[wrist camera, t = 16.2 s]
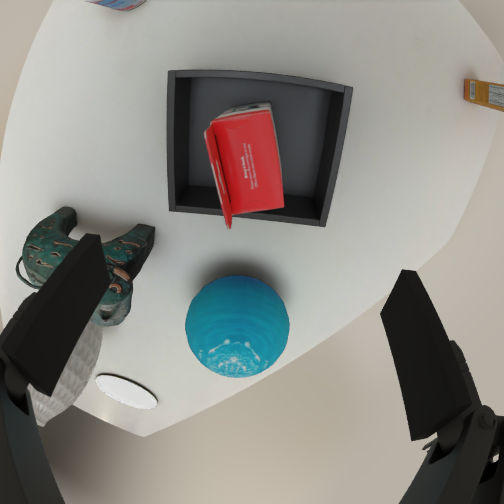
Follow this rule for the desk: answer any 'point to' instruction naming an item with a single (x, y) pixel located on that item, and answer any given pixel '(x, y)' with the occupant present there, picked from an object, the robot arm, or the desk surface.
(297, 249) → the desk surface
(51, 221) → the ceramic cat
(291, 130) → the basket
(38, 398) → the vase
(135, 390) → the plate
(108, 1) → the pill bottle
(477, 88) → the supplement box
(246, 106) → the ink box
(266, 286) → the decorative orb
